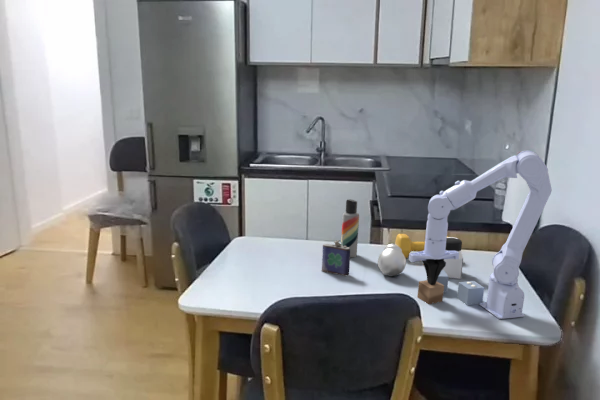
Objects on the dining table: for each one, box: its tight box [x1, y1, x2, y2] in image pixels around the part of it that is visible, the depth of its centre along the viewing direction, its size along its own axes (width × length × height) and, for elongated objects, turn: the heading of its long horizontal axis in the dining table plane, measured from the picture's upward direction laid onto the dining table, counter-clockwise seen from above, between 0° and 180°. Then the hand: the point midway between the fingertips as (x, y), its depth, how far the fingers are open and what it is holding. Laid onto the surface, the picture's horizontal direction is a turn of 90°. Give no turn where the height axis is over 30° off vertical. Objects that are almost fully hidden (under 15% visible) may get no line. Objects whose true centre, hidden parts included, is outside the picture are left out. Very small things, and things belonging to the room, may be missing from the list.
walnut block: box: [417, 279, 445, 305], centre depth 153 cm, size 5×5×5 cm
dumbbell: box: [394, 233, 449, 260], centre depth 188 cm, size 19×9×8 cm, turn 92°
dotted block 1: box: [437, 270, 449, 293], centre depth 162 cm, size 5×5×5 cm
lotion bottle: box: [340, 198, 360, 259], centre depth 186 cm, size 6×6×20 cm
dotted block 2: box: [456, 280, 485, 306], centre depth 154 cm, size 5×5×5 cm
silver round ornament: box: [377, 243, 407, 277], centre depth 171 cm, size 9×10×10 cm
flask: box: [321, 239, 351, 277], centre depth 171 cm, size 9×3×11 cm, turn 65°
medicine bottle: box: [442, 236, 464, 280], centre depth 173 cm, size 7×7×12 cm
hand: (431, 283), depth 153 cm, fingers closed, pressing on walnut block
